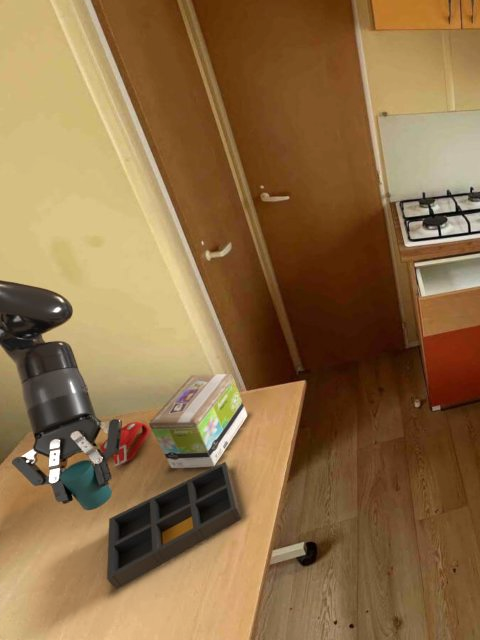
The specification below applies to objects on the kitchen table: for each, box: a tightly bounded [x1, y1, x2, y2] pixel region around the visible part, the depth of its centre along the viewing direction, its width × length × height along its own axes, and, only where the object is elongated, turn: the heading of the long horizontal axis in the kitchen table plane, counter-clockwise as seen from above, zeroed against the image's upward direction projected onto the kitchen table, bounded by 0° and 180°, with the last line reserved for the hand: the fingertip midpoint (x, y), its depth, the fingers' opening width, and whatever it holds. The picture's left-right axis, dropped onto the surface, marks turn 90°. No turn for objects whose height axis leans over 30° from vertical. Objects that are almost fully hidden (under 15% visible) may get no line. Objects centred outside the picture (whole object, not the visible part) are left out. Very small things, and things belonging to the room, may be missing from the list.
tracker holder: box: [99, 421, 150, 468], centre depth 100 cm, size 12×4×10 cm
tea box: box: [148, 373, 248, 469], centre depth 99 cm, size 15×10×15 cm
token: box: [60, 459, 113, 511], centre depth 73 cm, size 4×4×8 cm
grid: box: [106, 461, 242, 590], centre depth 84 cm, size 20×13×4 cm
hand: (86, 493), depth 72 cm, fingers closed on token, 4 cm apart
